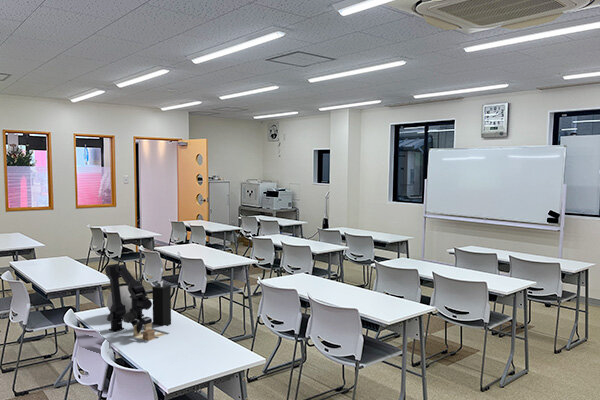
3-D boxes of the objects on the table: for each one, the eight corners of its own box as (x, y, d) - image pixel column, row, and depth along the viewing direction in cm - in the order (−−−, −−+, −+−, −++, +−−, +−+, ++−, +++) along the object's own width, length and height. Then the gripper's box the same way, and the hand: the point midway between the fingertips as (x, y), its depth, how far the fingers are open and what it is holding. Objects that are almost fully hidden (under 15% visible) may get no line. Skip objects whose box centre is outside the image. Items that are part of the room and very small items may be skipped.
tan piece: (132, 337, 258) (132, 326, 257) (140, 335, 262) (139, 323, 262) (148, 342, 251) (148, 330, 250) (155, 339, 255) (155, 327, 255)
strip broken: (143, 333, 264) (143, 322, 264) (150, 331, 268) (150, 319, 268) (158, 338, 257) (158, 326, 257) (165, 335, 262) (165, 324, 261)
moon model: (138, 320, 289) (137, 289, 288) (104, 322, 284) (104, 291, 283) (141, 310, 308) (141, 281, 307) (110, 312, 304) (109, 283, 303)
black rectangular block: (152, 326, 278) (152, 281, 276) (161, 322, 285) (160, 278, 283) (163, 328, 275) (162, 283, 273) (171, 324, 282) (170, 280, 280)
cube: (142, 339, 254) (142, 331, 253) (149, 336, 257) (149, 329, 257) (148, 340, 251) (148, 332, 251) (154, 338, 255) (154, 330, 255)
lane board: (129, 339, 257) (129, 336, 257) (151, 331, 270) (151, 327, 270) (146, 345, 249) (146, 341, 249) (169, 336, 263) (169, 332, 262)
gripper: (114, 307, 256) (114, 334, 257) (135, 312, 247) (136, 340, 248) (130, 302, 266) (131, 328, 267) (152, 307, 256) (152, 334, 257)
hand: (137, 333), depth 259 cm, fingers closed on tan piece, 2 cm apart
